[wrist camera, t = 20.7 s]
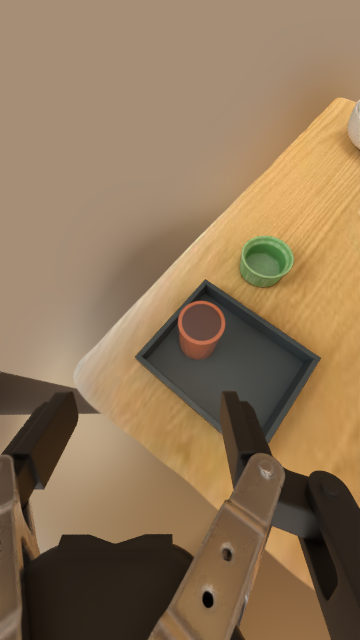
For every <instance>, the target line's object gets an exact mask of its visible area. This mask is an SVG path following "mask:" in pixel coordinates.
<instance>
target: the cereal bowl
mask: <svg viewBox="0 0 360 640" xmlns="http://www.w3.org/2000/svg"><path fill="white" fill-rule="evenodd" d="M347 129H348V136H349V138H350V140H351V141H352V143H353V144H354V145H355V146H356V147H357V148H358V149H359V150H360V100H359V101H358V102H357V103H356V105H355V107H354V109H353V111H352V113H351V115H350V118H349V121H348V128H347Z"/></svg>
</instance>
